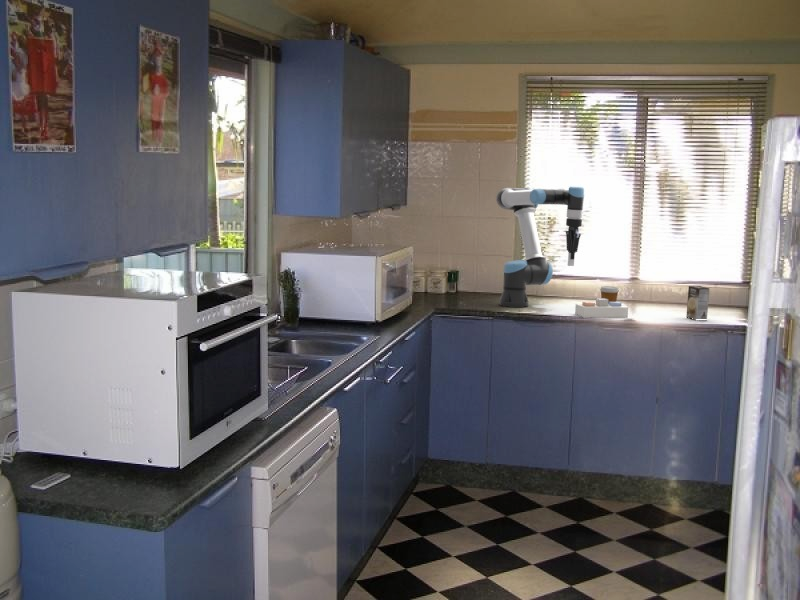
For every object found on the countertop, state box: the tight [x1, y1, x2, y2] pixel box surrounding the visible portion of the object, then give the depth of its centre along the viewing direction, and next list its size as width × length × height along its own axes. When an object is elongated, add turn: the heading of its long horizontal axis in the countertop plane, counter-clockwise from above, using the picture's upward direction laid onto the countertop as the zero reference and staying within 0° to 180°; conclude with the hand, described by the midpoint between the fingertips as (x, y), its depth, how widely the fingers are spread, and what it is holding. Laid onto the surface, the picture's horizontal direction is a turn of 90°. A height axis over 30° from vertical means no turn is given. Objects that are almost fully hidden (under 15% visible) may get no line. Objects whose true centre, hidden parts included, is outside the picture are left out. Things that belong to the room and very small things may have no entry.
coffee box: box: [685, 285, 711, 320], centre depth 449 cm, size 9×6×16 cm
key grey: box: [595, 297, 608, 307], centre depth 452 cm, size 5×5×6 cm
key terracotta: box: [581, 301, 596, 307], centre depth 451 cm, size 5×5×6 cm
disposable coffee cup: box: [599, 285, 620, 304], centre depth 470 cm, size 10×10×12 cm
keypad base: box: [574, 303, 629, 319], centre depth 453 cm, size 11×23×5 cm, turn 102°
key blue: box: [609, 301, 622, 306], centre depth 454 cm, size 5×5×6 cm
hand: (570, 265), depth 454 cm, fingers closed
